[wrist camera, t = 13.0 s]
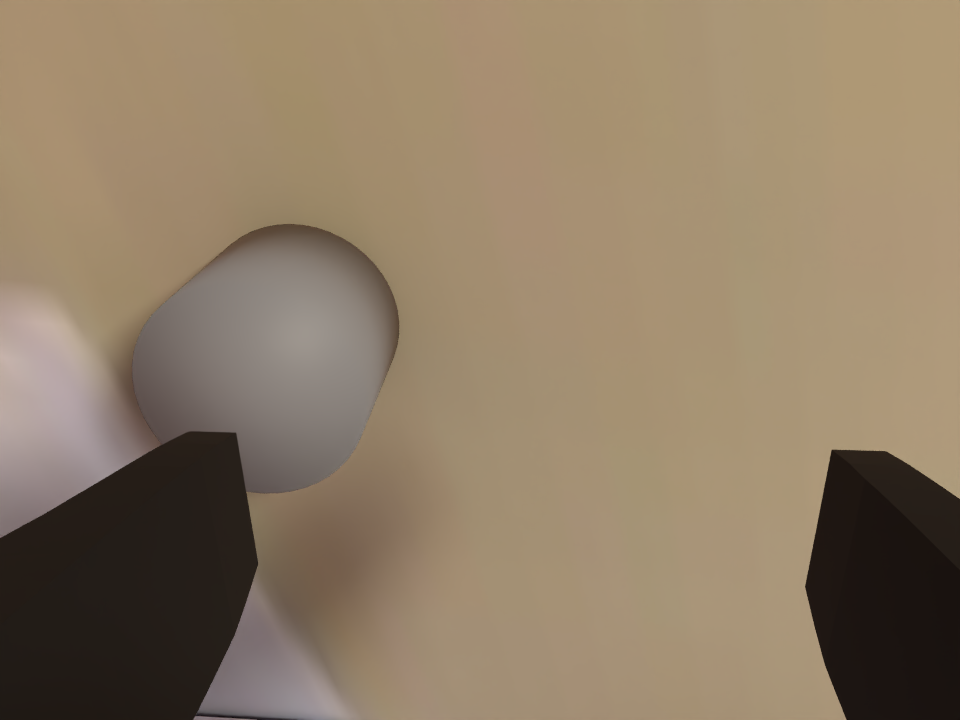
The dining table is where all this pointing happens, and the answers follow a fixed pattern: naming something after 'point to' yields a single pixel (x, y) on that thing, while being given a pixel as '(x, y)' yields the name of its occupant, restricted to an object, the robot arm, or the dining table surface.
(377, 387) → the grey rounded piece
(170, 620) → the robot arm
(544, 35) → the dining table surface
